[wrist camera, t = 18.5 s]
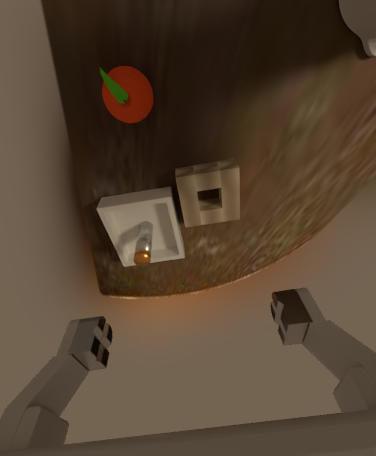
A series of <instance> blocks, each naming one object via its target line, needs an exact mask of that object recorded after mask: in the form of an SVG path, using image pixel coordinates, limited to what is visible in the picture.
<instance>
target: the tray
mask: <svg viewBox="0 0 376 456" xmlns="http://www.w3.org/2000/svg"><path fill="white" fill-rule="evenodd" d="M96 209H97V211H98V214H99V216H100V218H101V220H102V222H103V224H104V226H105V228H106V230H107V232H108V234H109V236H110V239H111V241H112V243H113V245H114V247H115V249H116V251H117V253H118V255H119V257H120V259H121V262H122V264H123V266H124V267H126V266H132V265H136V264H135V263H134V254H135V248H136V242H137V236H138V230H139V225H140V223H141V222H143V221H149V222H151V223H152V224H153V237H152V249H151V260H150V263H153V262H159V261H166V260H173V259H179V258H185V255H184V244H183V239H182V235H181V230H180V226H179V221H178V216H177V212H176V207H175V203H174V198H173V194H172V189H171V186H170V187H164V188H158V189H151V190H145V191H139V192H133V193H127V194H121V195H115V196H109V197H102V198H101V200H100V202H99V204H98V206H97V208H96Z"/></svg>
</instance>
